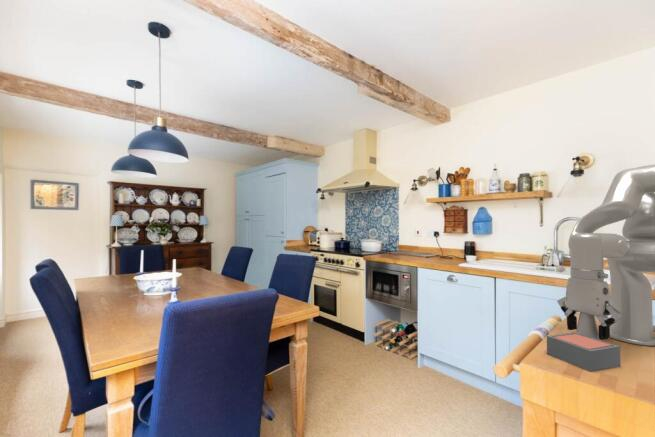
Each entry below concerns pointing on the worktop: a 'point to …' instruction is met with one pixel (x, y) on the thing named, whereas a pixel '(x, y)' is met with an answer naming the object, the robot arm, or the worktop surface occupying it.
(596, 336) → the grey bowling pin
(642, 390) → the worktop surface
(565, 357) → the press housing
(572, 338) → the pan
